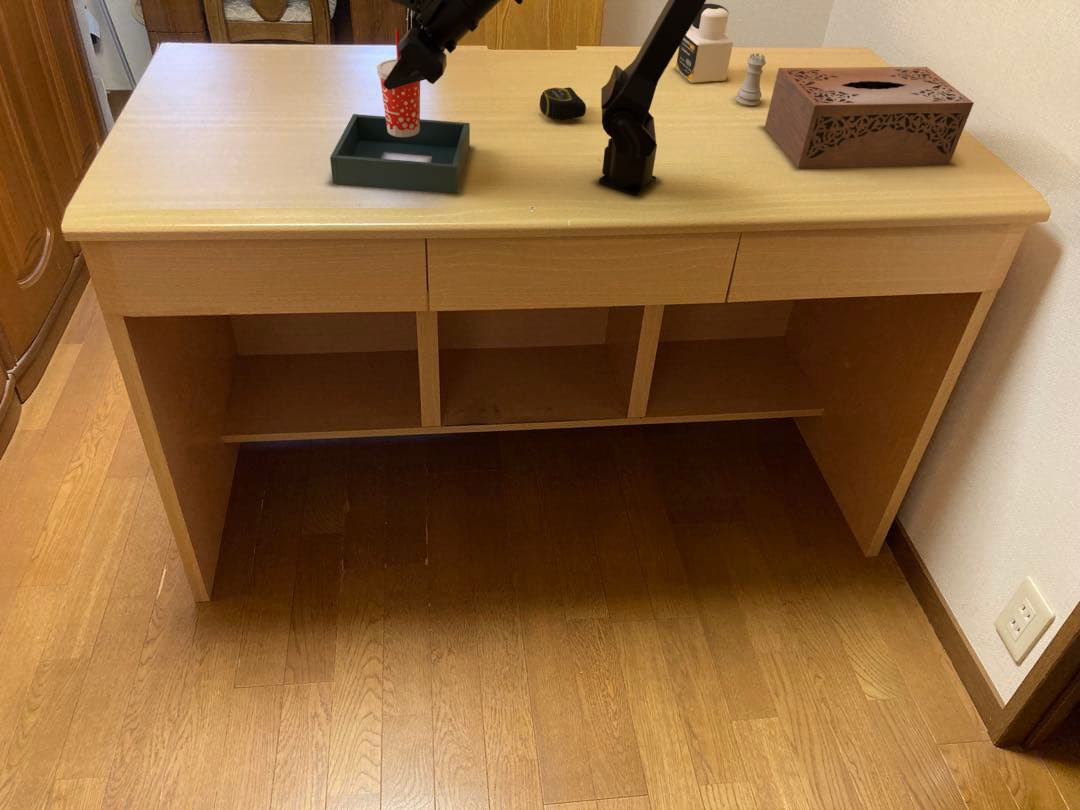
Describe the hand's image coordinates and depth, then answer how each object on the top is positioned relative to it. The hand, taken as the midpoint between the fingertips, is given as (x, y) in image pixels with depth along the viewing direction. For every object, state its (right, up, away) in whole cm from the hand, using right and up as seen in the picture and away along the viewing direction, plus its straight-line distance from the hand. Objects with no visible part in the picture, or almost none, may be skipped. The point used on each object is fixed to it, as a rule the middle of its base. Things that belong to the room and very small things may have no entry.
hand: (390, 77), depth 119 cm
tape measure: (+24, +3, +25) cm, 35 cm away
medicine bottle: (+50, +16, +42) cm, 67 cm away
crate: (+1, -10, +8) cm, 13 cm away
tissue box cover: (+72, -3, +22) cm, 75 cm away
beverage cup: (+1, -6, +5) cm, 8 cm away
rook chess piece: (+57, +8, +33) cm, 67 cm away
